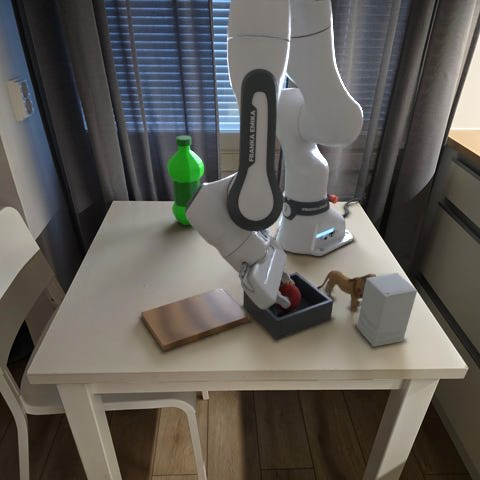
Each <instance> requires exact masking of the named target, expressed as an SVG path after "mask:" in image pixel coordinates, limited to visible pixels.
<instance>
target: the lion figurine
mask: <svg viewBox="0 0 480 480" xmlns="http://www.w3.org/2000/svg"><path fill="white" fill-rule="evenodd" d="M376 276H377V274H375V273H367V274H365V275H363V276H356V277H353V278H351V277H348V276H347V275H345V274H344V273H343V272H341V271H340V270H334V269H333V270H331V271H329V272H328V273H327V275H326V276H325V279H324V281H323V283H322V284H321V285H318V286H316V288H318V289H319V290H321V289H322V288H324V286H325V285H326V286H325V290H327V296H328V297H329V298H331V299H332V300H333V301H334V296H332V291H333V289H334V287H335V286H337V287H338V289H339V290H340V291H341V292H342V293H344V294H347V295H349V296H350V310H351V311H353V312H354V311H356V310H357V306H358V305H361V302H360V299H361V300H362V298H363V293H364V288H365V282H366V278H370V277H376ZM356 305H357V306H356Z"/></svg>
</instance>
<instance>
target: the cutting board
mask: <svg viewBox="0 0 480 480" xmlns="http://www.w3.org/2000/svg"><path fill="white" fill-rule="evenodd" d="M140 316H141V320H142V321H143V322H144V324H145V325H146V327H147V329H148V330H149V331H150V333H151V334H152V335H153V337H154V338H155V340H156V342H157V343H158V345H159V346H160V348H161V349H162V350H163V352H166V351H169V350H172V349H175V348H177V347H181V346H183V345H187V344H189V343H192V342H195V341H198V340H199V339H203V338H206V337H208V336H211V335H214V334H217V333H220V332H222V331H225V330H228V329H231V328H234V327H237V326H240V325H242V324H245V323H248V322H249V320H250V319H249V315H248V314H247V312H245V311H244V309H242V307H240V306H239V305H238V304H237V303H236V302H235V300H234V299H233V298H231V297H230V296H229V295H228V293H226V291H225V290H223V288H221V287H218V288H215V289H212V290H209V291H205V292H202V293H199V294H196V295H192V296H189V297H186V298H183V299H180V300H176V301H173V302H170V303H167V304H164V305H160V306H157V307H154V308H150V309H147V310H144V311H141V312H140Z"/></svg>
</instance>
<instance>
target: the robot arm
mask: <svg viewBox="0 0 480 480" xmlns="http://www.w3.org/2000/svg"><path fill="white" fill-rule="evenodd" d="M333 27H334V25H333V9H332V1H331V0H230V2H229V11H228V19H227V37H226V52H227V53H226V54H227V56H226V58H227V69H228V76H229V82H230V83H229V84H230V86H231V90H232V92H233V95H234V97H235V100H236V104H237V109H238V115H239V116H238V117H239V140H238V141H239V142H238V165H237V166H238V167H237V172H235V173H233V174H231V175H229V176H227V177H225V178H222V179H219V180H216V181H211V182H203V183H202V184H201V183H200V186H199V187H198V188H197V190H196V191H195V192H194V194H193V195H192V197H191V198H190V200H189V202H188V203H187V205H186V209H185V214H186V218H187V220H188V221H189V223H190V224H191V225H190V226H191V227H192V228H193V229H194V231H196V232H197V234H199V236H200V237H202V239H203V240H204V242H206V243H207V244H208V245H210V246H212V247H214V248H215V249H216V250H217V251H218V253H219V255H220V256H221V258H223V260H224V261H226V262H227V263H228V264H229V266H231V268H233V270H235V271H236V272H237V273H238V278H239V280H240V286H241V288H242V290H244V291H245V293H246V294H247V295H248V296H249V297H250V299H251V300H252V301H253V302H254V303H255V304H256V305H257V306H258V307H259V308H260V309H264V310H265V309H267V308H268V307H270V306H271V305H273V304H274V303H278V304H280V305H281V306H282V307H283V308H285V309H286V308H288V307H289V306H290V305H291V300H290V299H289V298H288V297H287V296H286V297H284V296H282V295H281V293H280V292H279V291H278V290H279V286H280V282H281V280H282V282H283V283H284V284H286V282H287V281H288V280H291V278H290V276H289V274H290V273H288V271H287V269H286V268H285V265H286V261H287V254H286V252H288V253H289V252H290V253H294V254H300V255H311V256H316V257H322V256H324V255H327V254H328V253H331V252H332V251H334V250H337V249H338V248H340V247H342V246H344V245H347V244H349V243H350V242H353V237H354V236H353V234H352V233H351V232H350V231H349V230H347V226H346V225H347V224H346V219H345V217H346V216H347V215H348V214H349V212H350V211H349V208H348V207H347V206H348V205H349V204H350V203H352V202H356V201H357V202H359V203H361V202H362V199H360V198H358V197H357V198H352V199H350V200H348V201H346V202H345V203H344V205H343V206H344V207H343V208H344V210H345V213H343V214H341V213H340V212H339V211H337V210H336V209H334V208H333V207H332V206H331V204H330V203H332V204H333V205H335V204H337V202H338V201H339V197H338V196H336V195H334V194H332V193H331V194H329V193H328V183H329V176H330V175H329V174H330V166H329V163H328V161H327V160H326V158H325V157H324V156H323V155H322V154H321V152H320V150H319V148H318V145H321V146H324V147H330V148H331V147H332V148H345V147H348V146H350V145H352V144H353V143H354V142H355V141H357V139H358V138H359V136H360V135H361V132H362V130H363V125H364V113H363V110H362V109H363V108H362V107H361V105H360V104H359V103H358V101H356V100H355V99H354V98H353V97H352V96H351V94H350V93H349V92H348V90H347V88H346V87H345V85H344V82H343V79H342V78H341V76H340V72H339V70H338V66H337V62H336V55H335V43H334V28H333ZM286 77H287V78H289V80H291V82H292V83H293V84H294V85H295V86H296V87H290V88H289V87H288V88H284V84H285V80H286ZM276 140H278V142H279V144H280V148H281V150H282V153H283V157H284V158H283V159H284V165H285V166H284V167H285V172H284V174H285V177H284V191H283V192H282V189H281V187H280V184H279V181H278V179H277V175H276V161H275V160H276ZM281 214H282V215H281ZM280 217H281V218H280ZM279 218H280V220H279ZM278 220H279V223H278V226H279V229H278V231H277V235H276V237H275V238H274V237H273V236H271V235H270V232H269V228H270V227H272V226H273V225H275V223H276V222H277V221H278ZM285 251H286V252H285ZM291 281H292V280H291ZM292 284H293V285H294V284H295V283H294V282H293V281H292Z"/></svg>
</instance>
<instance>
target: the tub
mask: <svg viewBox="0 0 480 480" xmlns="http://www.w3.org/2000/svg"><path fill="white" fill-rule="evenodd" d="M288 274H289V276H290V278H291V280H292V281H293V282H294V283H295V284H294V285H295V286H296V287H297V288H298V290H299V292H300V295H301V299H300V303H299V305H298V306H297V307H296V308H295V309H293V310H292V311H288V312H285V311H282V310H280V309H279V308H278V307H277V306H276V304H275V303H274V304H273V305H271V306H270V307H268V308H267V309H265V310H264V309H260V308H259V307H258V306H257V305H256V304H255V303H254V302H253V301H252V300H251V299H250V297H249V296H248V295H247V294H246V293H245V291H244V290H243V289H242V290H243V295H242V297H243V298H242V299H243V304H242V307H243V308H244V309H245V311H246V312H247V313H248V314H250V316H252V318H254V320H255V321H256V322H257V323H258V324H259V325H260V326H261V327H263V329H264V330H265V331H266V332H267V333H268V334H269V335H270V336H271V337H272V338H273V339H274V340H275V341H277V340H280V339H283V338H285V337H287V336H291V335H292V334H295V333H299V332H300V331H303V330H306V329H308V328H311V327H314V326H316V325H319V324H322V323H325V322H327V321H330V320H331V318H332V312H333V307H334V299H333V300H332V299H331V298H329V297H328V294H327V295H326V293H325V292H323V291H322V290H321V289H318V288H317V286H316V285H314V284H313V283H312V282H310V281H309V280H308V279H306V278H305V277H303V276H302V275H301V274H300V273H298V272H297V271H296V272H291V273H288ZM283 284H284V283H283V282H282V280H281V282H280V286H281V285H283ZM280 286H279V287H280Z"/></svg>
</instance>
